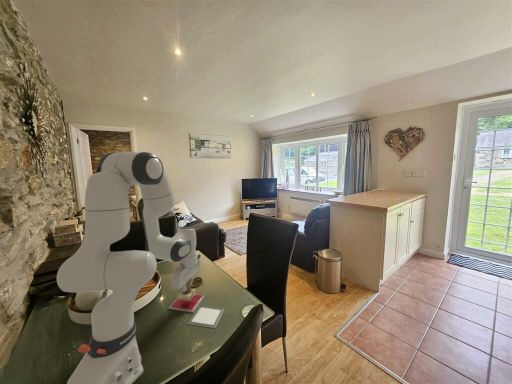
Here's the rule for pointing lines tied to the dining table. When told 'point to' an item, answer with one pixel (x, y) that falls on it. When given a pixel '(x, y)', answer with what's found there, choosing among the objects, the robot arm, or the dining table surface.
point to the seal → (196, 282)
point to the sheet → (206, 316)
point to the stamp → (187, 293)
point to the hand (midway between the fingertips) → (187, 287)
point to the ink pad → (187, 304)
